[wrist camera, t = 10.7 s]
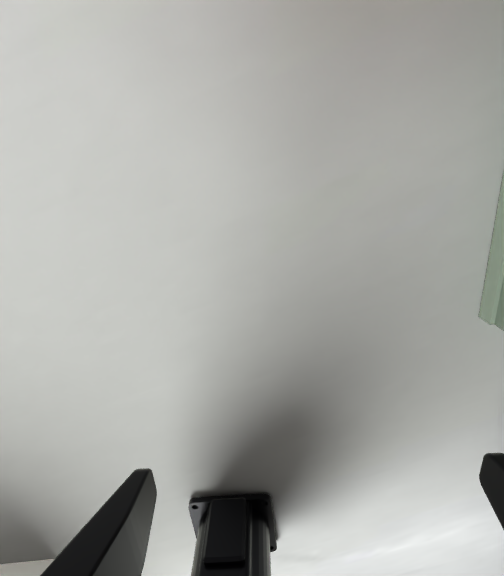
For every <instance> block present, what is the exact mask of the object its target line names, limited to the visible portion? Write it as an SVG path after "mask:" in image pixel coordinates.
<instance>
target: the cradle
mask: <svg viewBox="0 0 504 576" xmlns="http://www.w3.org/2000/svg"><path fill="white" fill-rule="evenodd" d="M479 317H480V318H481V319H482V320H484V321H485V322H487V323H488V324H490V325H492V324H495V325H496V326H497V327H499V328H500V329H502V330H503V331H504V173H503V179H502V185H501V190H500V196H499V202H498V208H497V214H496V219H495V225H494V231H493V237H492V242H491V248H490V254H489V260H488V266H487V271H486V277H485V283H484V289H483V294H482V300H481V306H480V312H479Z"/></svg>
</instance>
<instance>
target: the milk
mask: <svg viewBox="0 0 504 576" xmlns="http://www.w3.org/2000/svg"><path fill="white" fill-rule="evenodd" d="M53 561H54V559H47V560H37V561H27V562H17V563H7V564H0V576H40V575H41V574H42V573H43V572H44V571H45V570H46V568H47V567H48V566H49V565H50V564H51V563H52V562H53Z"/></svg>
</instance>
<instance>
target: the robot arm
mask: <svg viewBox="0 0 504 576" xmlns="http://www.w3.org/2000/svg"><path fill="white" fill-rule="evenodd" d="M479 479H480V483H481V486H482V488H483V490H484V492H485V494H486V496H487V498H488V500H489V502H490V504H491V506H492V508H493V510H494V512H495V514H496V516H497V518H498V520H499V522H500V524H501V526H502V528H503V530H504V454H503V453H487V454H485V455H484V458H483V462H482V466H481V470H480V474H479ZM156 496H157V491H156V486H155V481H154V477H153V473H152V470H151V469H137V470H135V471H134V472H133V473H132V474H131V475H130V476H129V477H128V478H127V479H126V480H125V482H124V483H123V484H122V485H121V486H120V487H119V488H118V489H117V490H116V492H115V493H114V494H113V495H112V496H111V497H110V498H109V499H108V501H107V502H106V503H105V504H104V505H103V506H102V507H101V508H100V509H99V511H98V512H97V513H96V514H95V515H94V516H93V517H92V518H91V519H90V521H89V522H88V523H87V524H86V525H85V526H84V527H83V528H82V529H81V531H80V532H79V533H78V534H77V535H76V536H75V537H74V538H73V539H72V541H71V542H70V543H69V544H68V545H67V546H66V547H65V548H64V549H63V551H62V552H61V553H60V554H59V555H58V556H57V557H56V558H55V559H54V561H53V562H52V563H51V564H50V565H49V566H48V567H47V568H46V570H45V571H44V572H43V573H42V574H41V575H40V576H141V573H142V569H143V566H144V561H145V556H146V551H147V546H148V540H149V535H150V530H151V524H152V519H153V513H154V508H155V503H156ZM189 511H190V515H191V519H192V523H193V527H194V531H195V535H196V538H197V541H196V547H195V554H194V560H193V566H192V573H191V576H271V562H270V552H273V551H275V550H276V549H277V543H276V534H275V526H274V517H273V509H272V500H271V496H270V495H268V494H252V495H235V496H218V497H201V498H192V499H191V500H190V501H189Z"/></svg>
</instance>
